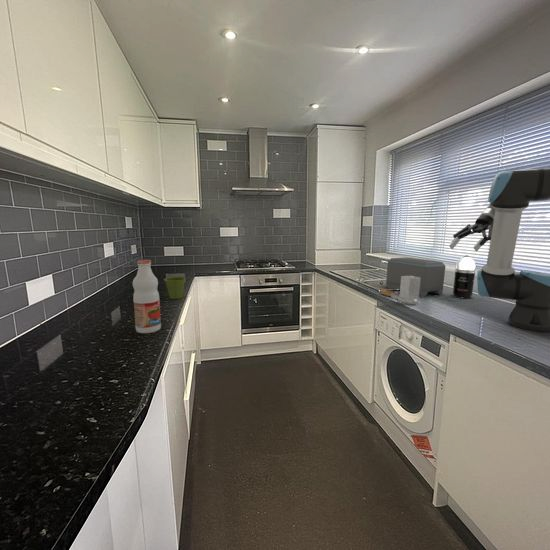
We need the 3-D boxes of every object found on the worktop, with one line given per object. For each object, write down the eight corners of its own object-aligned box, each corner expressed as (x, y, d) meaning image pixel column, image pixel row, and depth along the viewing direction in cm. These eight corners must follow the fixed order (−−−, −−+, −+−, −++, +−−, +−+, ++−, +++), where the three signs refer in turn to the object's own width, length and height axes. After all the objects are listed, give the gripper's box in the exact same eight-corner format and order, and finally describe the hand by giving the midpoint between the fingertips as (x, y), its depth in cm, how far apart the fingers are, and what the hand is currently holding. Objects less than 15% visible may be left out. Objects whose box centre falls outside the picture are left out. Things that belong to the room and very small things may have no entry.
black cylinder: (453, 293, 184) (457, 254, 180) (472, 296, 178) (477, 255, 174) (451, 297, 176) (456, 255, 171) (471, 299, 170) (477, 256, 165)
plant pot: (170, 295, 174) (169, 276, 173) (189, 295, 173) (189, 277, 172) (161, 300, 163) (160, 280, 161) (182, 300, 162) (181, 280, 160)
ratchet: (422, 304, 159) (423, 290, 157) (406, 305, 156) (407, 291, 155) (390, 293, 184) (391, 281, 183) (376, 294, 182) (377, 282, 180)
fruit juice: (141, 325, 122) (136, 258, 117) (164, 325, 122) (160, 258, 118) (131, 333, 113) (125, 261, 108) (156, 333, 113) (151, 261, 108)
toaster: (400, 284, 212) (402, 256, 209) (443, 294, 182) (447, 262, 179) (381, 286, 204) (383, 257, 201) (422, 297, 175) (425, 263, 171)
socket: (418, 299, 159) (420, 277, 157) (408, 300, 157) (410, 278, 155) (409, 296, 165) (411, 275, 163) (399, 297, 163) (401, 276, 161)
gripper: (515, 224, 142) (490, 255, 140) (467, 224, 166) (444, 251, 163) (509, 212, 140) (483, 244, 137) (461, 214, 163) (438, 242, 161)
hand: (462, 248), depth 150 cm, fingers open, 13 cm apart
